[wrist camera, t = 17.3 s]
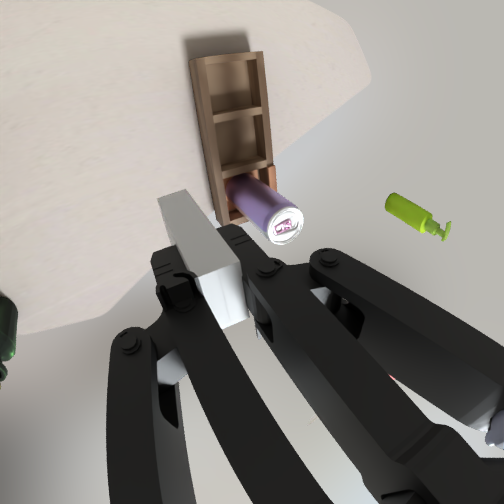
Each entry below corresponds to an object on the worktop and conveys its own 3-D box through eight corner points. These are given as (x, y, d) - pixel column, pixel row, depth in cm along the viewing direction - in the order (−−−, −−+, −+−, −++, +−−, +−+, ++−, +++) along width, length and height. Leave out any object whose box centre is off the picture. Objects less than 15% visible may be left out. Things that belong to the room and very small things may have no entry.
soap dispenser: (399, 187, 71) (455, 220, 57) (395, 209, 75) (448, 243, 61) (387, 190, 69) (446, 225, 55) (383, 213, 73) (438, 249, 59)
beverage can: (220, 178, 46) (264, 215, 35) (252, 167, 47) (303, 199, 36) (227, 208, 50) (269, 252, 39) (257, 197, 51) (305, 236, 40)
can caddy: (216, 219, 51) (225, 231, 48) (188, 61, 34) (196, 58, 30) (266, 202, 54) (278, 212, 51) (251, 53, 37) (264, 51, 33)
